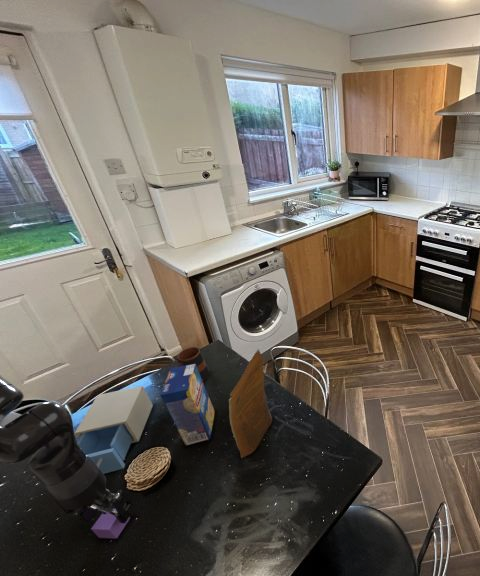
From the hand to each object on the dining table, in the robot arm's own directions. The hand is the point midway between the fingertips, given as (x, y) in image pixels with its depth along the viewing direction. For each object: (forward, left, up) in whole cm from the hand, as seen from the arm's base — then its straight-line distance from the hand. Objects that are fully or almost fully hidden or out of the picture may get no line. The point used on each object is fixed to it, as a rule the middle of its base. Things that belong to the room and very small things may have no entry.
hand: (109, 518), depth 74 cm
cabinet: (+13, +31, -4) cm, 34 cm away
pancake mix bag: (+36, -8, -4) cm, 37 cm away
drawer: (+5, +21, -3) cm, 22 cm away
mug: (+37, +33, -4) cm, 50 cm away
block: (0, 0, -4) cm, 4 cm away
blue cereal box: (+27, +10, -4) cm, 29 cm away
